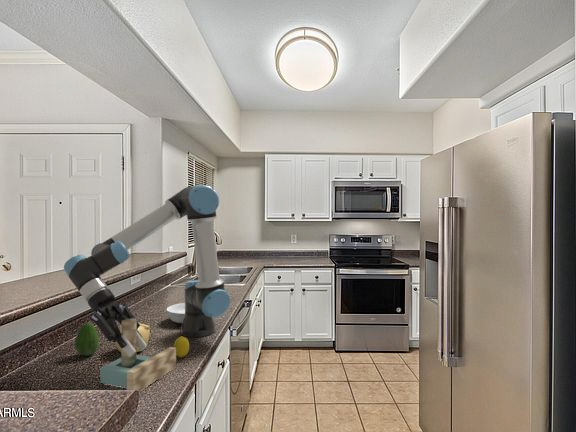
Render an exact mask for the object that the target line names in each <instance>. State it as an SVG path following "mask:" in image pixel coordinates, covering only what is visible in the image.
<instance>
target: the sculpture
mask: <svg viewBox="0 0 576 432" xmlns="http://www.w3.org/2000/svg"><path fill="white" fill-rule="evenodd" d="M138 323H139V324H140V326H139V328H138V329H137V330H138V332H139V333H140V334H141V336H142V339H143V340H144V341H145V343H146V344H147V345H148V343H149V340H150V335H151V334H150V333H151V331H150V329H151V327H150V325H148V324H144V323H141V322H139V321H138ZM121 328H122V325H120V326H119V330H120V332H121ZM115 345H116V349H117V350H118V352H120V353H121V347H120V346H119V344H118V343H117V341H116V342H115ZM139 352H141V351H140V349H139V348H138V347H137V345H136V353H139Z"/></svg>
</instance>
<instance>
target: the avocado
mask: <svg viewBox="0 0 576 432" xmlns="http://www.w3.org/2000/svg"><path fill="white" fill-rule="evenodd" d="M99 345H100V336H99V334H98V331H97V330H96V328H95V325H94V324H93V323H91V322H86V323H84V324H83V325H81V327H80V328H79V330H78V332H77V334H76V337H75V339H74V348H75V350H76V352H77V353H78V354H79V355H81V356H86V357H90V356H91V355H93V354H95V352H96V351H97V349H98V348H99Z"/></svg>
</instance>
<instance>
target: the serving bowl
mask: <svg viewBox="0 0 576 432" xmlns="http://www.w3.org/2000/svg"><path fill="white" fill-rule="evenodd" d="M166 313H167V314H166V315H167V317H168V318H169V319H170V321H172V322H174V323H177V324H182V323H183V320H184V317H185V302H181V303H176V304H172V305H169V306H168V307H167V308H166Z"/></svg>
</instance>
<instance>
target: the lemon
mask: <svg viewBox="0 0 576 432" xmlns="http://www.w3.org/2000/svg"><path fill="white" fill-rule="evenodd" d="M173 343H174V344H173V347H174V348H176V357H179V358H181V359H182V357H183V358H184V357H186V356H187V355H188V353H189V350H190V341H189V340H188V337H186V336H184V335H181V336H180V337H178V338H177V337H176V339H175V341H174V342H173Z"/></svg>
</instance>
